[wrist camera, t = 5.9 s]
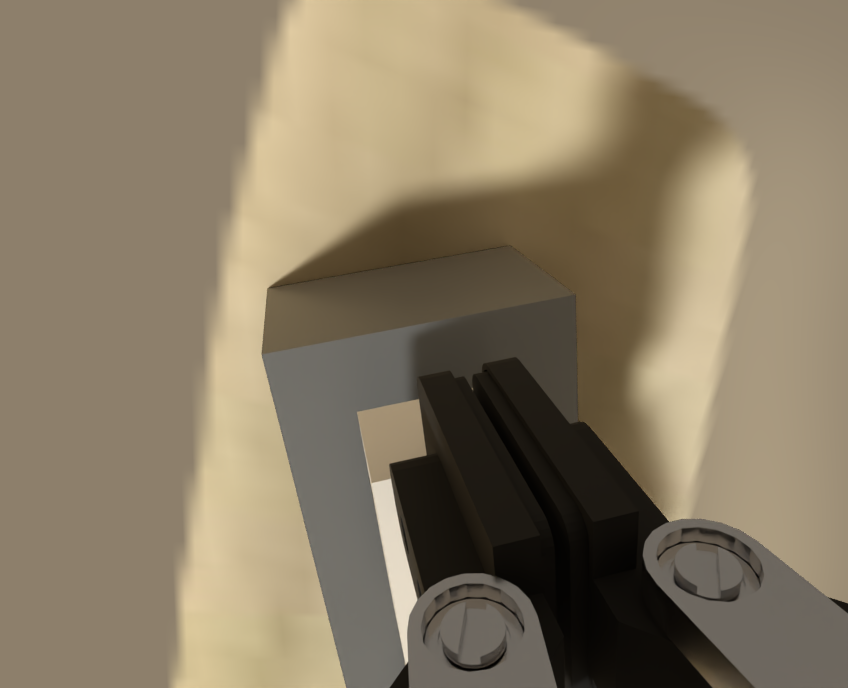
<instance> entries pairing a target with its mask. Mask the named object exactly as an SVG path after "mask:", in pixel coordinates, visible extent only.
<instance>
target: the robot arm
mask: <svg viewBox="0 0 848 688" xmlns="http://www.w3.org/2000/svg"><path fill="white" fill-rule="evenodd" d="M472 385H473V390H472V388H471V387H470V385H469V383H468V381H467V380H466V378H465V377H464V376H462V377H457V378H454V376H453V374H452V373H451V371H450V370H448V371H443V372H439V373H434V374H429V375H424V376H419V377H417V388H418V396H419V403H420V410H421V418H422V425H423V432H424V440H425V447H426V454H427V455H426V456H422V457H417V458H412V459H408V460H403V461H399V462H394V463H390V464H389V469H390V476H391V482H392V488H393V494H394V499H395V505H396V510H397V516H398V521H399V526H400V530H401V535H402V540H403V544H404V548H405V552H406V557H407V561H408V564H409V568H410V572H411V576H412V580H413V584H414V588H415V592H416V596H417V602H416V604H415V605H414V607H413V609H412V611H411V613H410V615H409V621H408V629H407V646H408V662H407V664H406V665H405V667H404V668H403V669H402V671H401V672H400V674H399V675H398V676H397V678H396V679H395V681H394V682H393V684H392V685H391V686H390V688H848V603H845V602H842V601H838V600H835V599H832V598H829V597H827V596H825V595H824V594H823V593H821V592H820V591H819V590H818V589H816V588H815V587H814V586H813V585H812V584H810V583H809V582H808V581H806V580H805V579H804V578H803V577H802V576H800V575H799V574H798V573H797V572H795V571H794V570H793V569H792V568H790V567H789V566H788V565H787V564H785V563H784V562H783V561H782V560H780V559H779V558H778V557H777V556H775V555H774V554H773V553H772V552H770V551H769V550H768V549H767V548H765V547H764V546H763V545H762V544H760V543H759V542H758V541H757V540H755V539H753V538H752V537H750V536H749V535H747V534H746V533H744V532H742V531H741V530H739V529H736V528H733V527H731V526H728V525H726V524H723V523H720V522H715V521H710V520H705V519H681V520H676V521H672V522H669V521H668V520H667V519H666V517H665V516H664V515H663V514H662V513H661V512H660V510H659V509H658V508H657V507H656V506H655V504H654V503H653V502H652V501H651V500H650V498H649V497H648V496H647V495H646V494H645V492H644V491H643V490H642V489H641V488H640V487H639V485H638V484H637V483H636V482H635V481H634V479H633V478H632V477H631V476H630V475H629V473H628V472H627V471H626V470H625V469H624V467H623V466H622V465H621V464H620V463H619V462H618V460H617V459H616V458H615V457H614V456H613V454H612V453H611V452H610V451H609V450H608V448H607V447H606V446H605V445H604V444H603V442H602V441H601V440H600V439H599V438H598V437H597V435H596V434H595V433H594V432H593V431H592V429H591V428H590V427H589V426H588V425H587V424H585V423H584V422H575V423H571V424H570V423H569V422H568V421H567V420H566V418H565V417H564V416H563V414H562V413H561V412H560V411H559V409H558V408H557V407H556V406H555V404H554V403H553V402H552V401H551V399H550V398H549V397H548V396H547V394H546V393H545V392H544V391H543V389H542V388H541V387H540V385H539V384H538V383H537V382H536V380H535V379H534V378H533V377H532V375H531V374H530V373H529V372H528V370H527V369H526V368H525V367H524V365H523V364H522V363H521V362H520V360H519V359H518V358H517V357H512V358H508V359H503V360H498V361H493V362H488V363H483V365H482V372H481V373H477V374H473V376H472Z"/></svg>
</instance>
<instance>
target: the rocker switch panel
mask: <svg viewBox="0 0 848 688" xmlns="http://www.w3.org/2000/svg"><path fill="white" fill-rule="evenodd" d="M512 357H517V358H518V359H519V360H520V362H521V363H522V364H523V365H524V367H525V368H526V369H527V370H528V372H529V373H530V374H531V375H532V377H533V378H534V379H535V380H536V382H537V383H538V384H539V385H540V387H541V388H542V389H543V391H544V392H545V393H546V394H547V396H548V397H549V398H550V399H551V401H552V402H553V403H554V404H555V406H556V407H557V408H558V409H559V411H560V412H561V413H562V414H563V416H564V417H565V418H566V420H567V421H568V422H569V423H570V424H571V423H575V422H578V394H577V339H576V294H574V293H573V292H572V291H570V290H569V289H568V288H566V287H565V286H564V285H562V284H561V283H560V282H558V281H557V280H556V279H554V278H553V277H552V276H550V275H549V274H548V273H546V272H545V271H544V270H542V269H541V268H540V267H538V266H537V265H536V264H534V263H533V262H532V261H530V260H529V259H528V258H526V257H525V256H524V255H522V254H521V253H520V252H518V251H517V250H516V249H514V248H513V247H512V246H505V247H499V248H494V249H488V250H482V251H477V252H471V253H465V254H460V255H454V256H448V257H443V258H437V259H432V260H426V261H420V262H415V263H409V264H403V265H398V266H392V267H386V268H381V269H375V270H369V271H364V272H358V273H352V274H347V275H341V276H335V277H330V278H324V279H318V280H313V281H307V282H301V283H296V284H290V285H284V286H279V287H273V288H267V299H266V311H265V322H264V333H263V345H262V358H263V362H264V366H265V370H266V374H267V378H268V381H269V385H270V389H271V393H272V397H273V401H274V405H275V409H276V413H277V417H278V421H279V425H280V429H281V433H282V436H283V440H284V444H285V448H286V452H287V456H288V460H289V464H290V468H291V472H292V476H293V480H294V484H295V488H296V492H297V495H298V499H299V503H300V507H301V511H302V515H303V519H304V523H305V527H306V531H307V535H308V539H309V543H310V547H311V551H312V554H313V558H314V562H315V566H316V570H317V574H318V578H319V582H320V586H321V590H322V594H323V598H324V602H325V606H326V609H327V613H328V617H329V621H330V625H331V629H332V633H333V637H334V641H335V645H336V649H337V653H338V657H339V661H340V665H341V668H342V672H343V676H344V680H345V684H346V688H390V686H391V685H392V684H393V682H394V681H395V679H396V678H397V676H398V675H399V674H400V672H401V671H402V669H403V668H404V667H405V664H404V662H405V659H404V654H403V649H402V644H401V639H400V634H399V630H398V625H397V620H396V615H395V610H394V605H393V600H392V594H391V589H390V584H389V579H388V573H387V568H386V563H385V557H384V552H383V547H382V542H381V536H380V531H379V526H378V521H377V515H376V510H375V505H374V499H373V494H372V489H371V484H370V478H369V473H368V468H367V462H366V457H365V452H364V447H363V441H362V436H361V431H360V425H359V420H358V415H357V412H359V411H364V410H369V409H373V408H378V407H383V406H388V405H393V404H398V403H402V402H407V401H412V400H417V399H419V396H418V388H417V377H419V376H424V375H429V374H434V373H439V372H443V371H448V370H450V371H451V373H452V374H453V376H454V378H457V377H462V376H464V377H465V378H466V380H467V381H468V383H469V385H470V387H471V388H473V385H472V376H473V374H477V373H481V372H482V365H483V363H488V362H493V361H498V360H503V359H508V358H512Z"/></svg>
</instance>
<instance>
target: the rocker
mask: <svg viewBox="0 0 848 688" xmlns="http://www.w3.org/2000/svg"><path fill="white" fill-rule="evenodd" d="M472 390H473V388H472ZM357 415H358V420H359V425H360V431H361V436H362V441H363V447H364V452H365V457H366V462H367V468H368V473H369V478H370V484H371V489H372V494H373V499H374V505H375V510H376V515H377V521H378V526H379V531H380V536H381V542H382V547H383V552H384V557H385V563H386V568H387V573H388V579H389V584H390V589H391V594H392V600H393V605H394V610H395V615H396V620H397V625H398V630H399V634H400V639H401V644H402V649H403V654H404V659H405V664H407V662H408V646H407V629H408V621H409V615H410V613H411V611H412V609H413V607H414V605H415V604H416V602H417V596H416V592H415V588H414V584H413V580H412V576H411V572H410V568H409V564H408V561H407V557H406V552H405V548H404V544H403V540H402V535H401V530H400V526H399V521H398V516H397V510H396V505H395V499H394V494H393V488H392V482H391V476H390V469H389V464H390V463H394V462H399V461H403V460H408V459H412V458H417V457H422V456H426V455H427V454H426V447H425V440H424V432H423V425H422V418H421V410H420V403H419V399H417V400H412V401H407V402H402V403H398V404H393V405H388V406H383V407H378V408H373V409H369V410H364V411H359V412H357Z"/></svg>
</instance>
